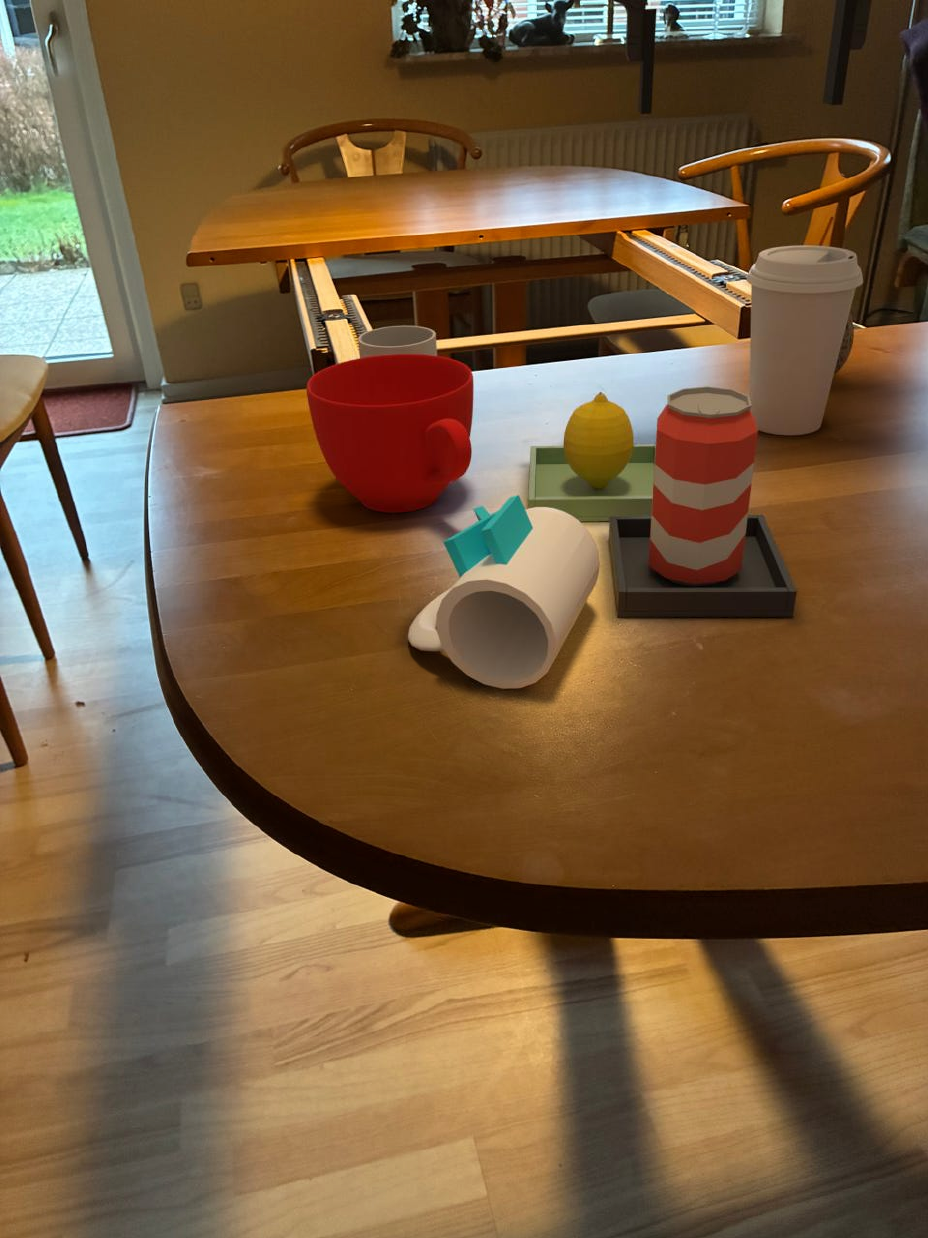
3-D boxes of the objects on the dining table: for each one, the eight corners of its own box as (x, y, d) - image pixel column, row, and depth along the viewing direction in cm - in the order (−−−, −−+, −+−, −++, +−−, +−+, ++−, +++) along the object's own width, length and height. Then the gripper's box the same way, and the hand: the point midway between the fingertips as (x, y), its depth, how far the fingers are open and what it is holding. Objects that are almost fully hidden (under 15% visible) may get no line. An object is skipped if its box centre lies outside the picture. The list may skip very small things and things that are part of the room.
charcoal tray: (760, 537, 69) (763, 514, 68) (792, 617, 60) (797, 591, 59) (608, 539, 70) (609, 515, 69) (617, 617, 61) (618, 591, 60)
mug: (574, 450, 59) (510, 534, 49) (626, 576, 62) (575, 677, 53) (421, 499, 65) (338, 583, 56) (475, 612, 68) (406, 708, 59)
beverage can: (647, 590, 63) (658, 417, 57) (649, 546, 68) (659, 383, 62) (742, 595, 62) (764, 418, 55) (736, 549, 67) (755, 383, 61)
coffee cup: (794, 450, 83) (820, 271, 75) (710, 422, 90) (725, 255, 82) (860, 423, 88) (891, 252, 80) (775, 398, 94) (796, 239, 86)
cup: (446, 415, 95) (441, 325, 90) (430, 453, 86) (423, 356, 82) (376, 415, 96) (367, 325, 91) (353, 453, 87) (342, 356, 83)
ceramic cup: (395, 567, 68) (382, 434, 63) (296, 491, 80) (278, 375, 75) (538, 517, 74) (538, 392, 69) (426, 453, 86) (418, 343, 81)
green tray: (658, 464, 82) (659, 443, 81) (672, 520, 72) (674, 497, 71) (530, 466, 83) (530, 445, 82) (528, 521, 73) (528, 499, 72)
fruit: (605, 468, 81) (608, 375, 76) (645, 490, 76) (651, 394, 72) (550, 483, 78) (550, 389, 74) (588, 507, 74) (591, 408, 70)
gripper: (959, -279, 61) (896, 96, 72) (570, -247, 63) (567, 112, 74) (1007, -315, 55) (929, 103, 66) (573, -278, 57) (569, 120, 68)
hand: (737, 108), depth 70 cm, fingers open, 13 cm apart
